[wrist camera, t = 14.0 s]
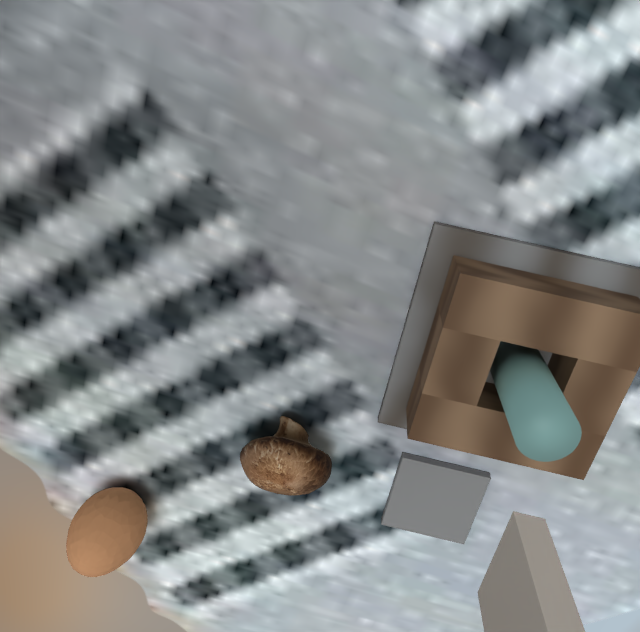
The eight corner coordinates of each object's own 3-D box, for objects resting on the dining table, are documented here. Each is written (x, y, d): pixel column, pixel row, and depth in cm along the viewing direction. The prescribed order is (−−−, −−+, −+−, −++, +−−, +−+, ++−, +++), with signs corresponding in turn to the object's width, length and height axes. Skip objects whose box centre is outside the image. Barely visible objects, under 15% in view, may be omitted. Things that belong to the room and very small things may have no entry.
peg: (479, 371, 46) (505, 453, 36) (495, 328, 44) (527, 401, 34) (527, 382, 46) (567, 468, 35) (545, 339, 44) (591, 416, 34)
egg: (125, 531, 58) (81, 606, 50) (84, 486, 57) (30, 556, 48) (173, 508, 56) (135, 582, 48) (131, 460, 55) (84, 529, 46)
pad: (381, 518, 54) (381, 524, 53) (402, 452, 50) (402, 457, 50) (462, 537, 53) (464, 544, 53) (489, 472, 50) (490, 478, 50)
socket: (378, 417, 49) (376, 452, 45) (434, 221, 42) (439, 239, 37) (578, 464, 49) (598, 505, 44) (669, 274, 42) (706, 298, 37)
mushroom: (277, 398, 46) (266, 474, 43) (353, 423, 50) (348, 495, 47) (233, 420, 52) (221, 488, 49) (304, 441, 56) (297, 505, 53)
